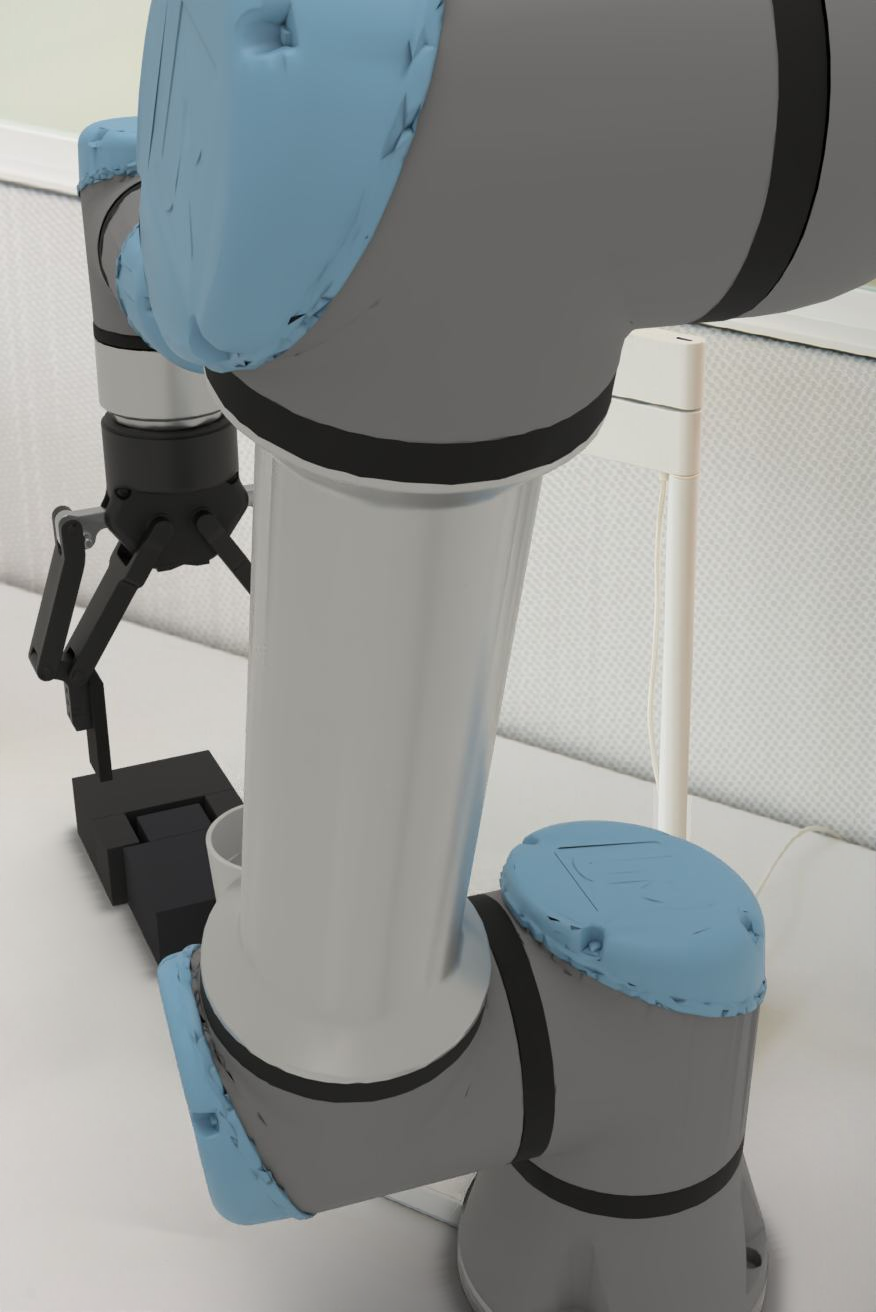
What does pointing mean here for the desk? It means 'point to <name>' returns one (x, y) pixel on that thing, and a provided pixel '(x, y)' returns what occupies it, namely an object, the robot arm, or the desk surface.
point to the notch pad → (143, 807)
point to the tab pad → (170, 879)
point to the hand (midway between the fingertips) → (192, 752)
